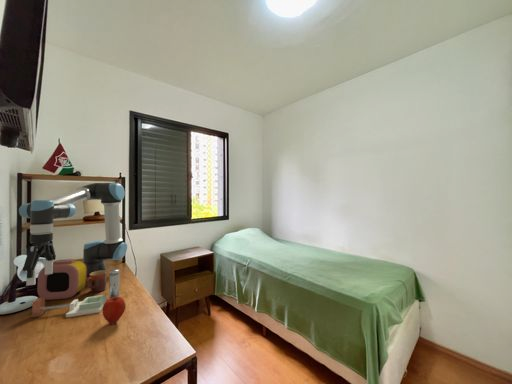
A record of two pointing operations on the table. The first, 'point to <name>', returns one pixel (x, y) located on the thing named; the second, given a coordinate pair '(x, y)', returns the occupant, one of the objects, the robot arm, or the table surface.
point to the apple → (114, 309)
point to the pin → (43, 307)
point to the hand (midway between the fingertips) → (40, 279)
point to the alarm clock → (62, 279)
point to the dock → (86, 306)
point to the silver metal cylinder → (114, 283)
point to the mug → (97, 281)
